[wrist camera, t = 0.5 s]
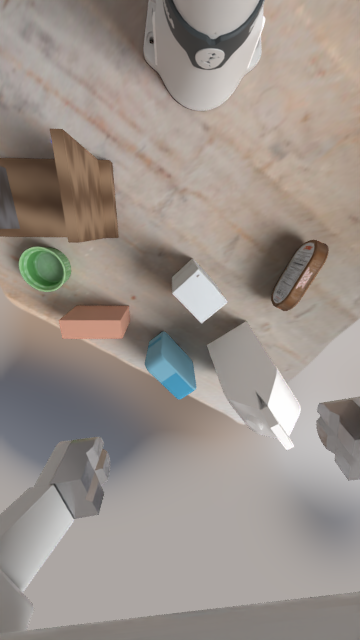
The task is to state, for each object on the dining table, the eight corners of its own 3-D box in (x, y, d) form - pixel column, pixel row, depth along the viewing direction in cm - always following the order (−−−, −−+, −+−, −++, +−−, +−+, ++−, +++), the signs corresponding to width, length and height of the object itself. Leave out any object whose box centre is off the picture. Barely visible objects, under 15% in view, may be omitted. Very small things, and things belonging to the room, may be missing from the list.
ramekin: (80, 282, 51) (72, 287, 47) (41, 290, 51) (30, 295, 47) (64, 240, 47) (54, 242, 43) (23, 249, 48) (10, 251, 44)
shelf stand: (-20, 160, 42) (-127, 124, 27) (112, 163, 42) (79, 129, 28) (0, 235, 47) (-80, 240, 32) (118, 237, 47) (93, 242, 33)
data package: (149, 339, 57) (143, 367, 46) (163, 328, 56) (160, 354, 45) (179, 370, 60) (180, 402, 49) (193, 361, 59) (197, 392, 48)
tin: (275, 304, 54) (292, 317, 46) (264, 299, 53) (279, 312, 46) (313, 242, 49) (339, 246, 41) (301, 236, 48) (325, 238, 40)
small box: (171, 277, 51) (170, 293, 39) (192, 257, 49) (198, 267, 37) (195, 302, 53) (201, 324, 41) (216, 284, 52) (229, 301, 40)
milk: (268, 355, 59) (332, 444, 35) (230, 377, 62) (266, 473, 38) (246, 320, 55) (302, 393, 31) (206, 345, 58) (229, 430, 34)
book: (76, 305, 53) (58, 320, 45) (128, 305, 53) (120, 320, 45) (79, 321, 54) (62, 338, 46) (130, 321, 55) (122, 338, 46)
